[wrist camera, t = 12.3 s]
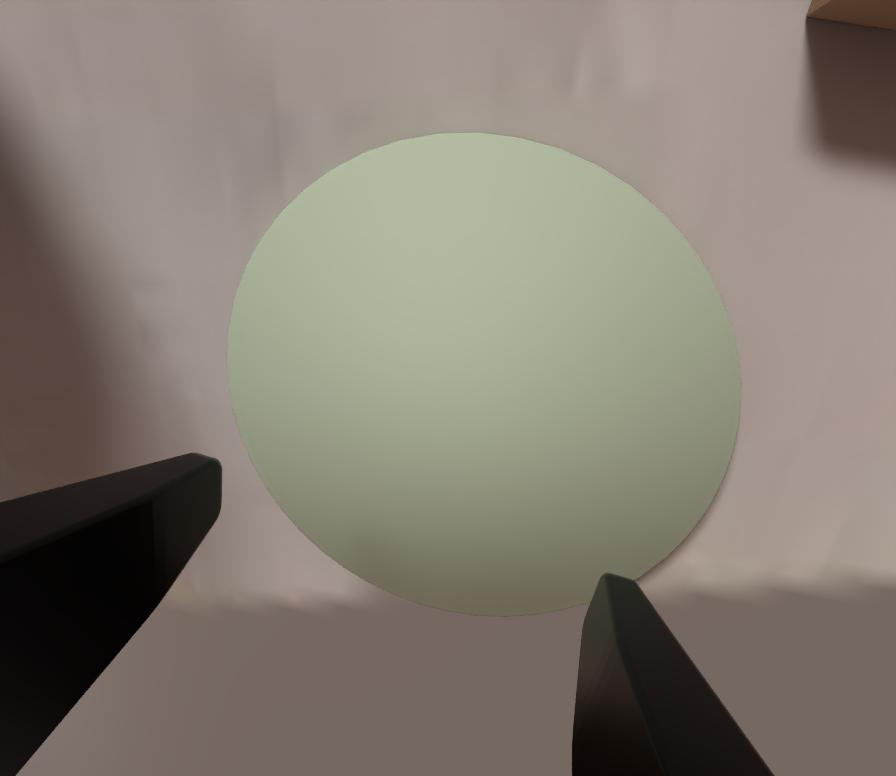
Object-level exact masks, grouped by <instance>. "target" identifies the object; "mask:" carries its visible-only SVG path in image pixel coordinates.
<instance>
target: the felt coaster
mask: <svg viewBox="0 0 896 776" xmlns="http://www.w3.org/2000/svg"><path fill="white" fill-rule="evenodd" d="M227 368H228V384H229V390H230V396H231V402H232V407H233V412H234V415H235V419H236V422H237V425H238V429H239V432H240V436H241V438H242V441H243V443H244V445H245V448H246V450H247V452H248V455H249V457H250V460H251V462H252V464H253V466H254V468H255V469H256V471H257V473H258V475H259V476H260V478H261V480H262V482H263V483H264V485H265V487H266V489H267V490H268V491H269V493H270V494H271V496H272V497H273V498H274V500H275V501H276V503H277V504H278V505H279V507H280V508H281V510H282V511H283V512H284V513H285V514H286V515H287V517H288V518H289V519H290V520H291V521H292V522H293V523H294V524H295V526H296V527H297V528H298V529H299V530H300V531H301V532H302V533H303V534H304V535H305V536H306V537H307V538H308V539H309V540H310V541H312V542H313V543H314V544H315V545H316V546H317V547H318V548H319V549H320V550H321V551H323V552H324V553H325V554H327V555H328V556H329V557H331V558H332V559H333V560H335V561H336V562H337V563H339V564H340V565H341V566H343V567H344V568H346V569H347V570H349V571H350V572H352V573H354V574H355V575H357V576H359V577H360V578H362V579H364V580H365V581H367V582H369V583H371V584H373V585H375V586H377V587H379V588H381V589H383V590H385V591H387V592H390V593H392V594H394V595H397V596H399V597H402V598H405V599H408V600H410V601H413V602H416V603H418V604H422V605H426V606H430V607H434V608H437V609H441V610H445V611H451V612H457V613H464V614H470V615H481V616H502V617H506V616H522V615H535V614H541V613H547V612H553V611H559V610H563V609H567V608H570V607H574V606H577V605H581V604H584V603H588V602H590V601H591V600H592V598H593V595H594V592H595V590H596V587H597V584H598V582H599V579H600V577H601V576H602V575H603V574H604V573H607V572H608V573H612V574H615V575H619V576H622V577H626V578H629V579H632V580H636V579H637V578H639V577H641V576H642V575H644V574H645V573H646V572H648V571H649V570H650V569H652V568H653V567H654V566H656V565H657V564H658V563H659V562H661V561H662V560H663V559H665V558H666V557H667V556H668V555H669V554H670V553H671V552H672V551H673V550H674V549H675V548H676V547H677V546H678V545H679V544H680V543H681V542H682V541H683V540H684V539H685V538H686V537H687V536H688V535H689V534H690V532H691V531H692V530H693V528H694V527H695V526H696V524H697V523H698V522H699V520H700V519H701V518H702V516H703V515H704V514H705V512H706V511H707V509H708V507H709V506H710V504H711V502H712V500H713V498H714V496H715V494H716V493H717V491H718V489H719V487H720V485H721V483H722V481H723V478H724V476H725V473H726V470H727V467H728V465H729V462H730V459H731V456H732V454H733V450H734V445H735V440H736V435H737V430H738V425H739V420H740V402H741V377H740V368H739V359H738V351H737V345H736V342H735V338H734V334H733V331H732V327H731V324H730V320H729V316H728V313H727V310H726V308H725V306H724V303H723V301H722V299H721V297H720V295H719V292H718V290H717V288H716V286H715V283H714V281H713V279H712V277H711V275H710V274H709V272H708V271H707V269H706V267H705V266H704V264H703V263H702V261H701V260H700V258H699V257H698V255H697V254H696V252H695V250H694V249H693V247H692V246H691V244H690V243H689V242H688V241H687V239H686V238H685V237H684V236H683V235H682V234H681V233H680V232H679V230H678V229H677V228H676V227H675V226H674V225H673V224H672V223H671V221H670V220H669V219H668V218H667V217H666V216H665V215H664V213H662V212H661V211H660V210H659V209H658V208H657V207H655V206H654V205H653V204H652V203H651V202H649V201H648V200H647V199H646V198H645V197H644V196H642V195H641V194H640V193H639V192H638V191H636V190H635V189H634V188H633V187H632V186H630V185H628V184H627V183H625V182H624V181H622V180H620V179H619V178H617V177H615V176H614V175H612V174H611V173H609V172H607V171H606V170H604V169H603V168H601V167H599V166H598V165H596V164H594V163H591V162H589V161H587V160H584V159H582V158H580V157H578V156H575V155H573V154H571V153H568V152H566V151H564V150H561V149H559V148H556V147H552V146H548V145H545V144H541V143H537V142H534V141H530V140H526V139H523V138H519V137H511V136H503V135H494V134H486V133H443V134H434V135H428V136H422V137H417V138H411V139H405V140H400V141H397V142H394V143H391V144H388V145H385V146H382V147H379V148H376V149H373V150H370V151H367V152H365V153H363V154H361V155H359V156H357V157H355V158H353V159H351V160H349V161H347V162H345V163H343V164H341V165H339V166H337V167H335V168H333V169H332V170H331V171H329V172H328V173H326V174H325V175H324V176H322V177H321V178H319V179H318V180H317V181H315V182H314V183H312V184H311V185H310V186H308V187H307V188H306V189H304V190H303V191H302V192H301V193H300V194H299V195H298V196H297V197H296V198H295V199H294V200H293V201H292V202H291V203H290V204H289V205H288V206H287V207H286V208H285V209H284V210H283V211H282V212H281V213H280V214H279V216H278V217H277V218H276V220H275V221H274V222H273V224H272V225H271V226H270V228H269V229H268V230H267V232H266V233H265V234H264V236H263V237H262V238H261V240H260V242H259V244H258V246H257V247H256V249H255V251H254V253H253V255H252V257H251V258H250V260H249V262H248V264H247V266H246V268H245V271H244V274H243V276H242V279H241V282H240V284H239V287H238V290H237V292H236V296H235V300H234V305H233V309H232V314H231V318H230V323H229V333H228V345H227Z"/></svg>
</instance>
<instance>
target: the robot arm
mask: <svg viewBox="0 0 896 776" xmlns="http://www.w3.org/2000/svg"><path fill="white" fill-rule="evenodd" d="M221 500H222V466H221V463H220V462H219V461H218V460H217V459H216V458H212V457H209V456H205V455H202V454H198V453H189V454H185V455H181V456H177V457H173V458H170V459H166V460H162V461H158V462H154V463H150V464H146V465H143V466H139V467H135V468H131V469H127V470H123V471H120V472H116V473H112V474H108V475H104V476H100V477H97V478H93V479H89V480H85V481H81V482H77V483H73V484H70V485H66V486H62V487H58V488H54V489H50V490H47V491H43V492H39V493H35V494H31V495H27V496H23V497H20V498H16V499H12V500H8V501H4V502H0V776H16V774H17V773H18V772H19V771H20V770H21V768H22V767H23V766H24V765H25V764H26V762H27V761H28V760H29V759H30V758H31V756H32V755H33V754H34V753H35V752H36V751H37V749H38V748H39V747H40V746H41V745H42V743H43V742H44V741H45V740H46V739H47V737H48V736H49V735H50V734H51V733H52V731H53V730H54V729H55V728H56V726H58V724H59V723H60V722H61V721H62V720H63V718H64V717H65V716H66V715H67V714H68V713H69V711H70V710H71V709H72V708H73V707H74V705H75V704H76V703H77V702H78V700H79V699H80V698H81V697H82V696H83V695H84V693H85V692H86V691H87V690H88V689H89V688H90V686H91V685H92V684H93V683H94V682H95V680H96V679H97V678H98V677H99V676H100V674H101V673H102V672H103V671H104V670H105V669H106V667H107V666H108V665H109V664H110V663H111V661H112V660H113V659H114V658H115V656H116V655H117V654H118V653H119V652H120V651H121V649H122V648H123V647H124V646H125V644H126V643H127V642H128V641H129V640H130V639H131V637H132V636H133V635H134V634H135V633H136V631H137V630H138V629H139V628H140V627H141V625H142V624H143V623H144V622H145V621H146V620H147V618H148V617H149V616H150V615H151V613H152V612H153V611H154V610H155V608H156V607H157V606H158V604H159V603H160V602H161V600H162V599H163V598H164V596H165V595H166V593H167V592H168V591H169V589H170V588H171V586H172V585H173V583H174V582H175V580H176V579H177V577H178V576H179V574H180V573H181V571H182V570H183V569H184V567H185V566H186V564H187V563H188V561H189V560H190V558H191V557H192V555H193V554H194V552H195V551H196V549H197V548H198V547H199V545H200V544H201V542H202V541H203V539H204V538H205V536H206V535H207V533H208V532H209V530H210V529H211V527H212V526H213V525H214V523H215V521H216V520H217V518H218V516H219V513H220V509H221ZM572 776H774V774H773V773H772V772H771V770H770V769H769V767H768V766H767V765H766V763H765V762H764V760H763V759H762V758H761V757H760V755H759V753H758V752H757V751H756V749H755V748H754V746H753V745H752V744H751V742H750V741H749V740H748V738H747V737H746V735H745V734H744V733H743V731H742V730H741V728H740V727H739V726H738V724H737V723H736V721H735V720H734V719H733V717H732V716H731V714H730V713H729V712H728V710H727V709H726V707H725V706H724V705H723V703H722V702H721V701H720V699H719V698H718V696H717V695H716V693H715V692H714V691H713V689H712V688H711V686H710V685H709V684H708V682H707V681H706V679H705V678H704V677H703V675H702V674H701V672H700V671H699V670H698V668H697V667H696V665H695V664H694V663H693V661H692V660H691V658H690V657H689V656H688V654H687V653H686V651H685V650H684V649H683V647H682V646H681V645H680V643H679V642H678V640H677V639H676V637H675V636H674V635H673V633H672V632H671V631H670V629H669V628H668V626H667V625H666V624H665V622H664V621H663V619H662V618H661V617H660V615H659V614H658V612H657V611H656V610H655V608H654V607H653V605H652V604H651V603H650V601H649V600H648V598H647V597H646V596H645V594H644V593H643V591H642V590H641V589H640V587H639V586H638V584H637V583H636V582H635V581H634V580H632V579H629V578H626V577H622V576H619V575H615V574H612V573H608V572H607V573H604V574H603V575H602V576H601V577H600V579H599V582H598V584H597V587H596V590H595V592H594V595H593V598H592V600H591V603H590V605H589V608H588V611H587V613H586V616H585V620H584V624H583V629H582V639H581V649H580V660H579V670H578V681H577V692H576V703H575V714H574V725H573V739H572Z"/></svg>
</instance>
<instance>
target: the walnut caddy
mask: <svg viewBox="0 0 896 776" xmlns="http://www.w3.org/2000/svg"><path fill="white" fill-rule="evenodd" d="M806 16H807V17H813V18H819V19H826V20H832V21H839V22H845V23H851V24H858V25H864V26H871V27H877V28H884V29H890V30H896V0H812V2H811V5H810V7H809V10H808V13H807V15H806Z"/></svg>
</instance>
